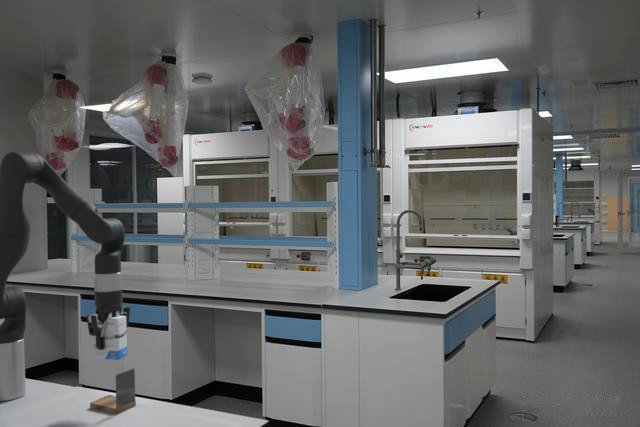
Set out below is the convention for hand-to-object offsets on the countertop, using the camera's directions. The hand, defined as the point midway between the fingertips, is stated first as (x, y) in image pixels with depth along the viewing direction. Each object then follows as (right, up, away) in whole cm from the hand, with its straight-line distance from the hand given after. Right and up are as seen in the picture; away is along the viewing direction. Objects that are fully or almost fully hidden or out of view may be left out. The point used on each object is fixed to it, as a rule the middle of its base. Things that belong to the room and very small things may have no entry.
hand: (109, 346), depth 160 cm
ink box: (0, -3, 0) cm, 3 cm away
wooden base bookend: (+1, -17, 0) cm, 17 cm away
